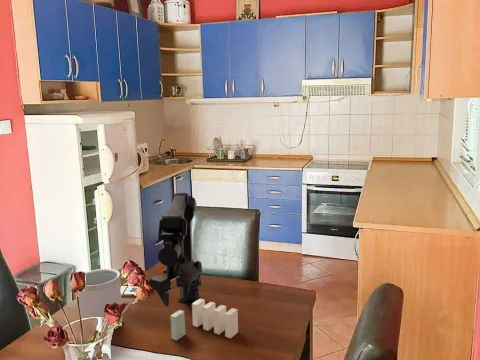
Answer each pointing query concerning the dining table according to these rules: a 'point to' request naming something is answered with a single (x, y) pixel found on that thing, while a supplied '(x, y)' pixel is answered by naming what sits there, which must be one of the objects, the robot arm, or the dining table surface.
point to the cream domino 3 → (219, 319)
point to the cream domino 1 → (198, 312)
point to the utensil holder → (99, 292)
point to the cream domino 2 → (208, 316)
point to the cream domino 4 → (231, 323)
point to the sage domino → (177, 325)
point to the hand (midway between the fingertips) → (176, 300)
